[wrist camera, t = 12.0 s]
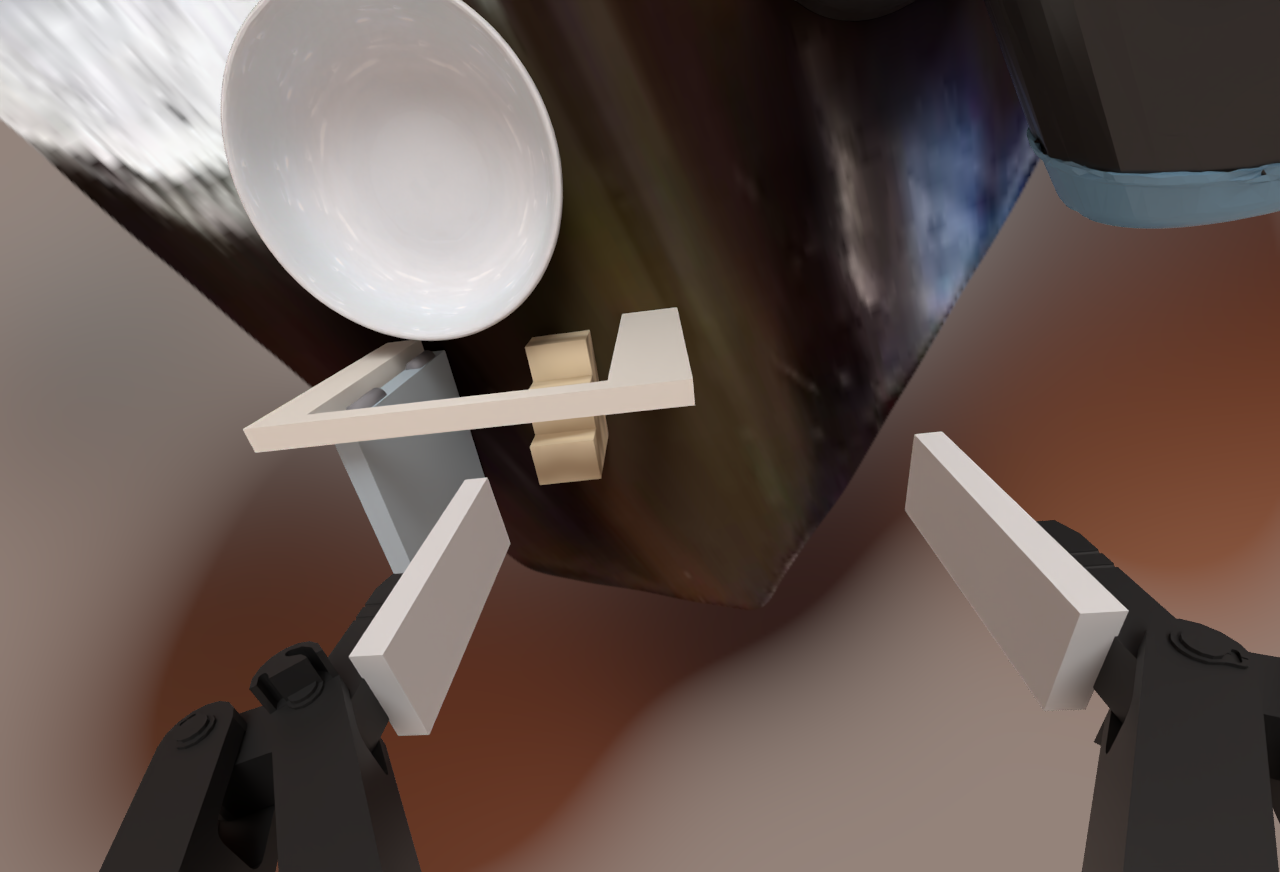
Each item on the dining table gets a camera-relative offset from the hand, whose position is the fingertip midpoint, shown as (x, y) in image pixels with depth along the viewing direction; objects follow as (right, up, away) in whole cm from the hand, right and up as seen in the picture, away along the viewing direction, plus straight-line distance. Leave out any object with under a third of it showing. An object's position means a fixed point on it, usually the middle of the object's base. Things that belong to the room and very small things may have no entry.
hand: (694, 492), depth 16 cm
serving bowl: (-17, +21, +22) cm, 35 cm away
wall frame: (-11, +11, +27) cm, 31 cm away
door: (-18, +3, +30) cm, 35 cm away
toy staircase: (-8, +6, +29) cm, 31 cm away
